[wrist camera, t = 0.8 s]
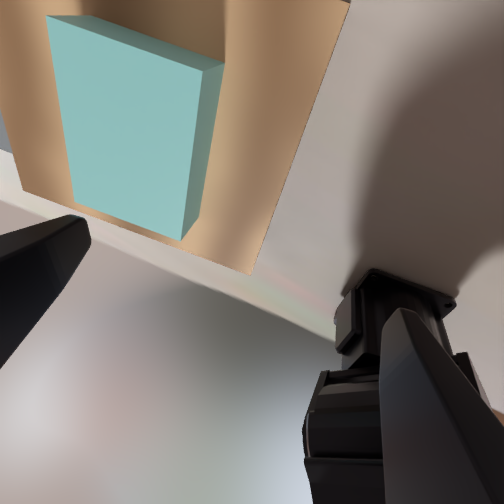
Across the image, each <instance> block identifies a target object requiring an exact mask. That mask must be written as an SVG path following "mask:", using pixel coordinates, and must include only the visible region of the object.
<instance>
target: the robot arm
mask: <svg viewBox="0 0 504 504" xmlns="http://www.w3.org/2000/svg"><path fill="white" fill-rule="evenodd" d="M90 245H91V236H90V232H89V228H88V224H87V221H86V220H85V218H83V217H79V216H76V215H71V214H69V215H65V216H62V217H59V218H55V219H52V220H49V221H46V222H42V223H39V224H36V225H33V226H29V227H26V228H23V229H19V230H17V231H13V232H10V233H6V234H3V235H0V369H1V368H2V366H3V365H4V364H5V363H6V361H7V360H8V359H9V357H10V356H11V355H12V354H13V352H14V351H15V350H16V349H17V347H18V346H19V345H20V343H21V342H22V341H23V340H24V338H25V337H26V336H27V335H28V333H29V332H30V331H31V330H32V328H33V327H34V326H35V325H36V323H37V322H38V321H39V320H40V318H41V317H42V316H43V314H44V313H45V312H46V311H47V309H48V308H49V307H50V306H51V304H52V303H53V302H54V300H55V299H56V298H57V297H58V296H59V294H60V293H61V292H62V290H63V289H64V287H65V286H66V284H67V283H68V281H69V280H70V278H71V277H72V275H73V273H74V272H75V270H76V269H77V267H78V265H79V264H80V262H81V261H82V259H83V257H84V256H85V254H86V252H87V251H88V250H89V248H90ZM372 275H376V277H372ZM446 303H449V304H446ZM456 305H457V304H456V301H455V299H454V298H453V297H451V296H448V295H445V294H442V293H440V292H437V291H434V290H432V289H429V288H426V287H423V286H421V285H418V284H415V283H413V282H410V281H407V280H405V279H402V278H399V277H396V276H394V275H391V274H388V273H386V272H383V271H380V270H378V269H370V270H369V271H367V273H366V274H365V275H364V277H363V278H362V279H361V281H360V282H359V284H358V285H357V286H356V288H353V289H351V290H350V291H349V293H348V294H347V295H346V297H345V298H344V299H343V301H342V302H341V304H340V305H339V306H338V308H337V314H336V315H335V316H334V324H335V325H336V343H335V349H336V351H337V353H339V354H342V367H341V368H342V369H341V370H337V371H329V370H326V371H321V373H320V376H319V379H318V382H317V384H316V387H315V390H314V393H313V396H312V399H311V402H310V404H309V407H308V410H307V413H306V416H305V420H304V424H303V428H302V435H303V447H304V453H305V458H304V465H305V468H306V472H307V475H308V479H309V482H310V488H311V494H312V499H313V504H504V426H503V425H502V423H501V422H500V421H499V420H498V418H497V417H496V416H495V414H494V413H493V412H492V408H491V406H490V403H489V401H488V398H487V396H486V393H485V391H484V389H483V387H482V384H481V382H480V380H479V377H478V375H477V373H476V371H475V368H474V366H473V364H472V362H471V359H470V357H469V355H468V353H467V352H462V353H456V355H453V352H452V349H451V346H450V343H449V339H448V336H447V333H446V330H445V326H444V323H443V320H442V319H443V318H444V317H445V316H446V315H448V314H449V313H450V312H451V311H452V310H453V309H454V308H455V307H456Z"/></svg>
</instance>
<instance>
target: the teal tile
mask: <svg viewBox="0 0 504 504" xmlns="http://www.w3.org/2000/svg"><path fill="white" fill-rule="evenodd" d="M45 16H46V22H47V29H48V35H49V41H50V48H51V54H52V61H53V67H54V73H55V80H56V86H57V93H58V99H59V105H60V112H61V118H62V125H63V131H64V137H65V144H66V150H67V156H68V163H69V169H70V176H71V182H72V188H73V195H74V201H75V202H76V203H79V204H82V205H84V206H87V207H90V208H92V209H95V210H98V211H100V212H103V213H106V214H108V215H111V216H114V217H116V218H119V219H122V220H124V221H127V222H130V223H132V224H135V225H138V226H140V227H143V228H146V229H148V230H151V231H154V232H156V233H159V234H162V235H164V236H167V237H170V238H172V239H175V240H178V241H180V242H181V240H182V239H183V238H184V236H185V235H186V234H187V232H188V231H189V230H190V228H191V227H192V226H193V224H194V223H195V222H196V220H197V219H198V218H199V213H200V207H201V201H202V195H203V189H204V184H205V178H206V172H207V166H208V160H209V154H210V148H211V143H212V137H213V131H214V125H215V119H216V113H217V107H218V102H219V96H220V90H221V84H222V78H223V72H224V66H225V63H224V62H221V61H218V60H215V59H212V58H210V57H207V56H204V55H201V54H198V53H196V52H193V51H190V50H187V49H184V48H181V47H179V46H176V45H173V44H170V43H167V42H165V41H162V40H159V39H156V38H153V37H150V36H148V35H145V34H142V33H139V32H136V31H134V30H131V29H128V28H125V27H122V26H119V25H117V24H114V23H111V22H108V21H105V20H103V19H100V18H97V17H94V16H91V15H45Z"/></svg>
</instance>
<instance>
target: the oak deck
mask: <svg viewBox="0 0 504 504" xmlns="http://www.w3.org/2000/svg"><path fill="white" fill-rule="evenodd" d="M349 7H350V3H347V2H344V1H341V0H0V110H1V113H2V117H3V121H4V124H5V128H6V131H7V135H8V138H9V142H10V145H11V149H12V153H13V156H14V160H15V163H16V167H17V170H18V174H19V177H20V181H21V185H22V188H23V191H26V192H29V193H31V194H34V195H37V196H39V197H42V198H45V199H47V200H50V201H53V202H55V203H58V204H61V205H63V206H66V207H69V208H71V209H74V210H77V211H79V212H82V213H85V214H87V215H90V216H93V217H95V218H98V219H101V220H103V221H106V222H109V223H111V224H114V225H117V226H119V227H122V228H125V229H127V230H130V231H133V232H135V233H138V234H141V235H143V236H146V237H149V238H151V239H154V240H157V241H159V242H162V243H165V244H167V245H170V246H173V247H175V248H178V249H181V250H183V251H186V252H189V253H191V254H194V255H197V256H199V257H202V258H205V259H207V260H210V261H213V262H215V263H218V264H221V265H223V266H226V267H229V268H231V269H234V270H237V271H239V272H242V273H245V274H247V275H251V272H252V270H253V267H254V264H255V262H256V259H257V257H258V254H259V251H260V249H261V246H262V243H263V241H264V238H265V235H266V233H267V230H268V227H269V224H270V222H271V219H272V216H273V214H274V211H275V208H276V205H277V203H278V200H279V197H280V195H281V192H282V189H283V186H284V184H285V181H286V178H287V176H288V173H289V170H290V167H291V165H292V162H293V159H294V156H295V154H296V151H297V148H298V146H299V143H300V140H301V137H302V135H303V132H304V129H305V127H306V124H307V121H308V118H309V116H310V113H311V110H312V108H313V105H314V102H315V99H316V97H317V94H318V91H319V89H320V86H321V83H322V80H323V78H324V75H325V72H326V69H327V67H328V64H329V61H330V59H331V56H332V53H333V50H334V48H335V45H336V42H337V40H338V37H339V34H340V31H341V29H342V26H343V23H344V21H345V18H346V15H347V12H348V10H349ZM45 15H91V16H94V17H97V18H100V19H103V20H105V21H108V22H111V23H114V24H117V25H119V26H122V27H125V28H128V29H131V30H134V31H136V32H139V33H142V34H145V35H148V36H150V37H153V38H156V39H159V40H162V41H165V42H167V43H170V44H173V45H176V46H179V47H181V48H184V49H187V50H190V51H193V52H196V53H198V54H201V55H204V56H207V57H210V58H212V59H215V60H218V61H221V62H224V63H225V66H224V72H223V78H222V84H221V90H220V96H219V102H218V107H217V113H216V119H215V125H214V131H213V137H212V143H211V148H210V154H209V160H208V166H207V172H206V178H205V184H204V189H203V195H202V201H201V207H200V213H199V218H198V219H197V220H196V222H195V223H194V224H193V226H192V227H191V228H190V230H189V231H188V232H187V234H186V235H185V236H184V238H183V239H182V240H181V242H180V241H178V240H175V239H172V238H170V237H167V236H164V235H162V234H159V233H156V232H154V231H151V230H148V229H146V228H143V227H140V226H138V225H135V224H132V223H130V222H127V221H124V220H122V219H119V218H116V217H114V216H111V215H108V214H106V213H103V212H100V211H98V210H95V209H92V208H90V207H87V206H84V205H82V204H79V203H76V202H75V201H74V195H73V188H72V182H71V176H70V169H69V163H68V156H67V150H66V144H65V137H64V131H63V125H62V118H61V112H60V105H59V99H58V93H57V86H56V80H55V73H54V67H53V61H52V54H51V48H50V41H49V35H48V29H47V22H46V16H45Z"/></svg>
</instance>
